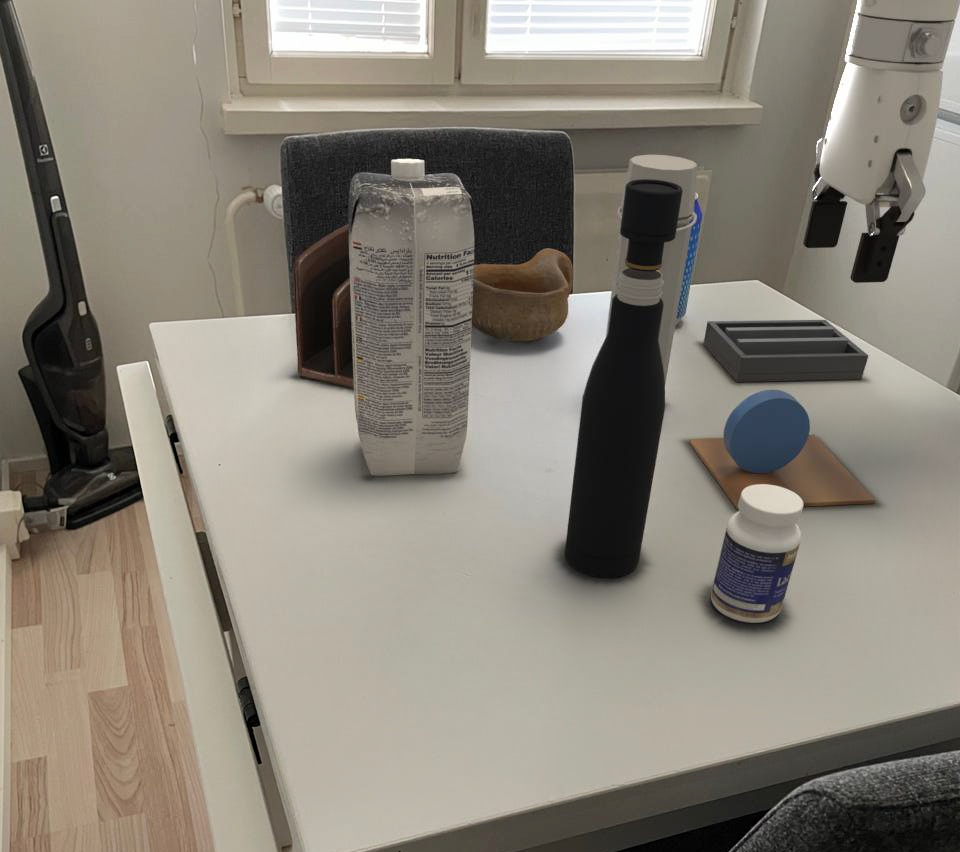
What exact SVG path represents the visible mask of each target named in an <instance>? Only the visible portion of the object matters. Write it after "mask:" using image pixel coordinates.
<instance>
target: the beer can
mask: <svg viewBox="0 0 960 852" xmlns="http://www.w3.org/2000/svg"><path fill="white" fill-rule="evenodd" d="M698 199H699V194H698V193H697V192H696V191H695V204H694V212H695V214H696V215H697V220H696V223H695V224H694V225H693V226H692V228H691V234H690V240H689V246H688V252H687V258H686V264H685V270H684V276H683V282H682V288H681V294H680V300H679V306H678V312H677V318H676V324H675V327H676V326H677V325H678V324H679V322H680V321H681V320H682V319H683V318H684V317H685V316H686V313H687V309H688V304H689V303H688V301H689V296H690V291H691V284H692V279H693V274H694V267H695V262H696V256H697V250H698V244H699V239H700V233H701V228H702V227H701V226H702V221H703V212H702V209H701V206H700V204H699V200H698ZM693 219H694V218H693ZM693 219H692V220H691V221H689V223H692V221H693Z"/></svg>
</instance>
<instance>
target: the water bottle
mask: <svg viewBox="0 0 960 852" xmlns="http://www.w3.org/2000/svg"><path fill="white" fill-rule="evenodd" d="M626 172H627V173H626V175H625V182H624V186H623V190H622V195H621V200H620V206H619V207H618V209H617V213H616V214H617V217H618V218H619V229H618V236H617V244H616V254H615V262H614V269H613V276H612V284H611V285H612V286H611V294H610V301H609V309H608V316H607V324H606V332H605V333H606V334H605V337H606V336H607V334H608V328H609V321H610V313H611V305H612V298H613V297H614V296H615V295H616V294H618V292H617V289H616V288H617V287H618V286H619V282H618V277H619V276H620V275H621V271H622V270H623V269H625V268H629V267H627V266H626V264H625V258H626V257H627V249H628V242H629V239H627V238H625V237H623V236H622V235H621V234H620V227H621V219H622V212H623V204H624V196H625V188H626V184H627V183H628V182H630V181H633V180H640V179H652V180H662V181H667V182H672V183H675V184H677V185H679V186H680V187H682V190H683V192H682V198H681V205H680V211H679V217H678V224H677V230H676V236H675V239H674V240H672V241H670V242H665V243H664V249H663V256H662V267H661V268H660V269H658V270H657V271H659V272H661V273H662V274H663V281H664V285H663V286H662V287H661V290H662V292H663V294H662V296H661V297H660V298H661V299H662V300H663V303H664V307H663V313H662V319H661V326H660V332H659V339H658V340H659V346H660V352H661V357H662V363H663V369H664V378H665V385H666V383H667V377H668V371H669V365H670V358H671V352H672V348H673V347H672V346H673V341H674V335H675V330H676V326H675V324H676V318H677V312H678V306H679V300H680V294H681V288H682V282H683V276H684V270H685V264H686V258H687V252H688V246H689V240H690V234H691V228H692V226H693V225H694V224H695V223H696V220H697V215H696V214H695V212H694V204H695V192H696V189H697V175H698V164H697V163H696V162H695V161H693V160H691V159H687V158H684V157H681V156H674V155H668V154H642V155H635V156H633V157H631V158H630V159H629V163H628V167H627V171H626ZM693 218H694V219H693ZM692 219H693V221H692V223H689V221H691V220H692Z"/></svg>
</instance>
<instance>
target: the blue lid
mask: <svg viewBox="0 0 960 852" xmlns="http://www.w3.org/2000/svg"><path fill="white" fill-rule="evenodd" d="M810 431H811V421H810V416H809V414H808V411H807V410H806V409H805V407H804V406H803V405H802V404H801V403H800V402H799V401H798V400H797V399H796V398H795V397H794V396H793V395H792V394H791V393H788V392H786V391H784V390H781V389H765V390H760V391H758V392H755V393H753V394H751V395H749V396H747V397H746V398H744V399H743V400H741V401H740V402H739V403H738V404H737V405H736V406H735V407H734V408H733V410H732V411H731V412H730V414H729V416H728V417H727V419H726V421H725V424H724V429H723V435H722V436H723V437H722V438H723V439H724V445H725V448H726V450H727V452H728V453H729V455H730V456H731V457H732V458H733V460H734V461H735V462H736V464H737V465H738V466H739V467H741V468H742V469H744V470H746V471H748V472H752V473H768V472H772V471H775V470H778V469H780V468H782V467H784V466H785V465H787V464H788V463H790V462H791V461H792V460H793V459H794V458H795V457H796V456H797V455H798V454H799V453H800V452H801V450H802V449H803V447H804V446H805V444H806V441H807V439H808V436H809V435H810Z"/></svg>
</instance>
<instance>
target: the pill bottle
mask: <svg viewBox="0 0 960 852" xmlns="http://www.w3.org/2000/svg"><path fill="white" fill-rule="evenodd" d="M803 509H804V506H803V501H802V499H801V498H800V497H799V496H798V495H797V494H796V493H794V492H792V491H790V490H788V489H786V488H783V487H779V486H775V485H768V484H758V485H751V486H748V487H746V488H745V489H744V490H743V491H742V493H741V496H740V499H739V503H738V509H737V510H738V511H737V512H735V513H734V514H733V515H732V516H731V517H730V518H729V519H728V521H727V523H726V527H725V532H724V537H723V539H722V545H721V549H720V554H719V558H718V561H717V566H716V570H715V574H714V579H713V583H712V586H711V591H710V599H711V603H712V605H713V606H714V608H715V609H716V610H718V611H719V613H721V614H722V615H724V616H726V617H727V618H730V619H733V620H735V621H738V622H743V623H749V624H750V623H751V624H759V623H765V622H768V621H771V620H773V619H774V618H776V617H777V616H778V615H779V614H780V612H781V610H782V607H783V604H784V601H785V596H786V595H787V594H786V593H787V591H788V587H789V583H790V580H791V576H792V572H793V569H794V565H795V563H796V559H797V556H798V552H799V549H800V544H801V541H802V532H801V529H800V527H799V525H798V524H797V523H799V521H800V520H801V517H802V514H803V511H804V510H803Z"/></svg>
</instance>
